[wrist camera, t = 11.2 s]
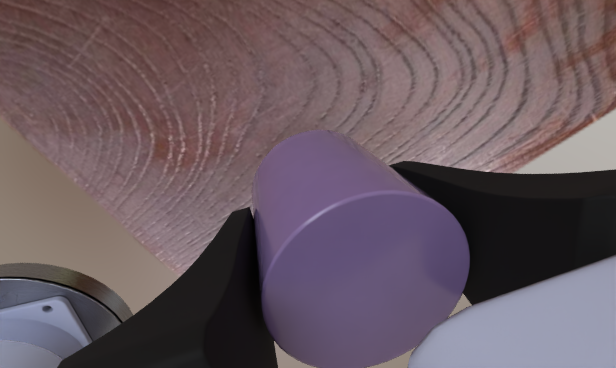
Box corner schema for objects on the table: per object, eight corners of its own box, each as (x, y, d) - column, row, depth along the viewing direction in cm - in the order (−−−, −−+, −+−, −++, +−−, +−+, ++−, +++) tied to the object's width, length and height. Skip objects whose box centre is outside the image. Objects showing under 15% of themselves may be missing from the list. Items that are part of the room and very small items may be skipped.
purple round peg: (265, 258, 14) (282, 394, 8) (238, 143, 11) (237, 221, 6) (378, 231, 14) (464, 340, 9) (372, 118, 12) (479, 169, 7)
